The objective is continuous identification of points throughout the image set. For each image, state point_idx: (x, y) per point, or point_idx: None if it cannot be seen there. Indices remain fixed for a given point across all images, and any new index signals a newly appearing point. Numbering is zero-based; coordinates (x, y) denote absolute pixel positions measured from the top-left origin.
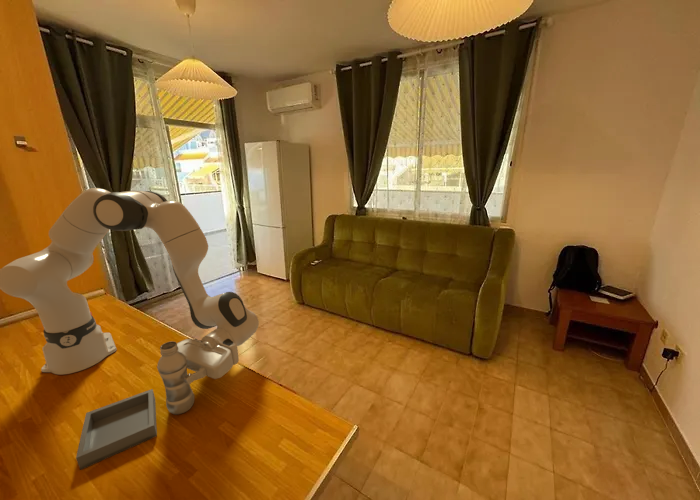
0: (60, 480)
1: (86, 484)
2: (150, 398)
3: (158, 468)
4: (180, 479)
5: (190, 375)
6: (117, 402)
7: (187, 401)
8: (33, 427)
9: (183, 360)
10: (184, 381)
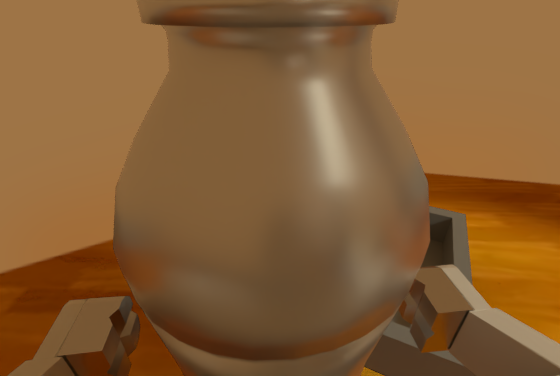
0: None
1: None
2: (399, 331)
3: None
4: (52, 278)
5: (67, 334)
6: (464, 262)
7: None
8: (518, 199)
9: (115, 212)
10: (135, 316)
